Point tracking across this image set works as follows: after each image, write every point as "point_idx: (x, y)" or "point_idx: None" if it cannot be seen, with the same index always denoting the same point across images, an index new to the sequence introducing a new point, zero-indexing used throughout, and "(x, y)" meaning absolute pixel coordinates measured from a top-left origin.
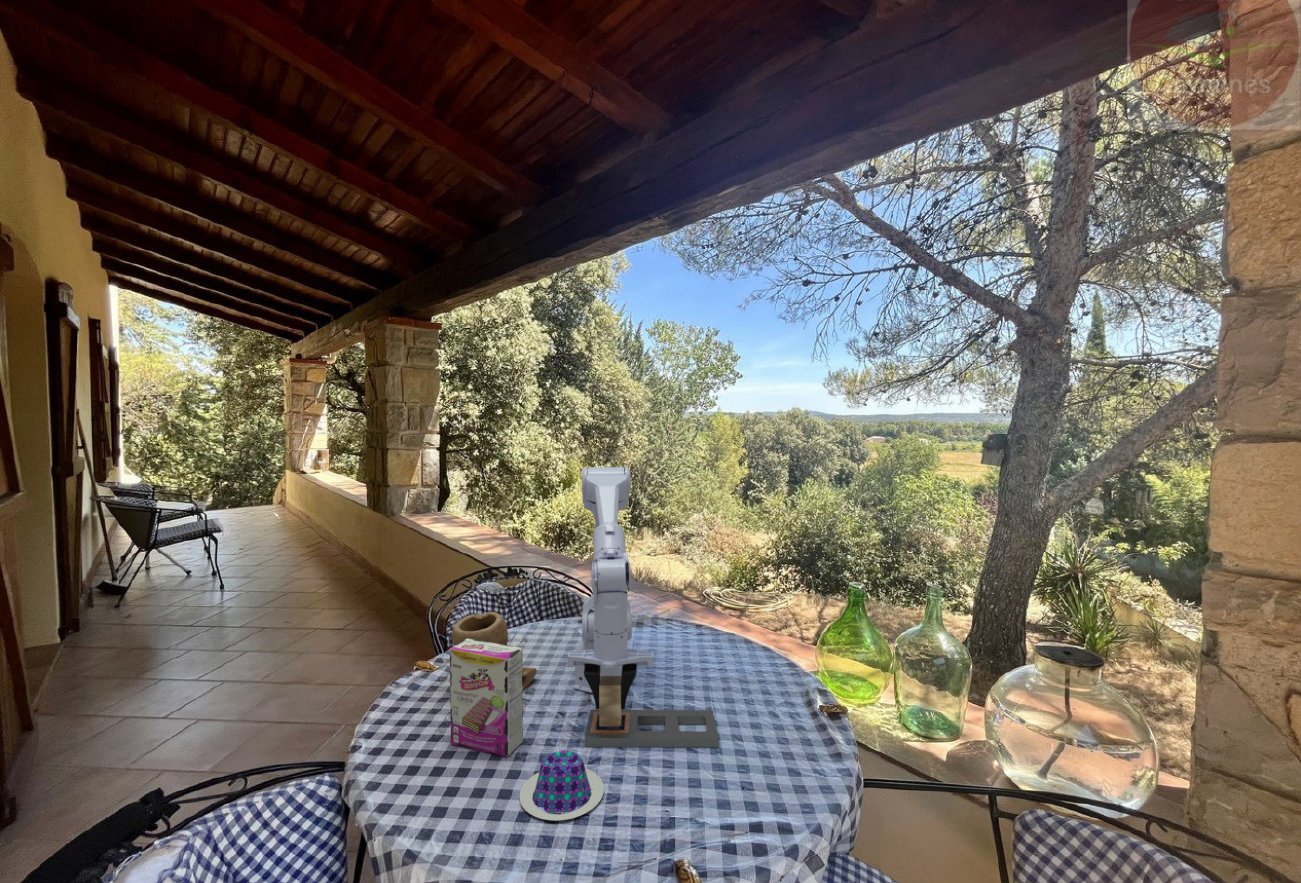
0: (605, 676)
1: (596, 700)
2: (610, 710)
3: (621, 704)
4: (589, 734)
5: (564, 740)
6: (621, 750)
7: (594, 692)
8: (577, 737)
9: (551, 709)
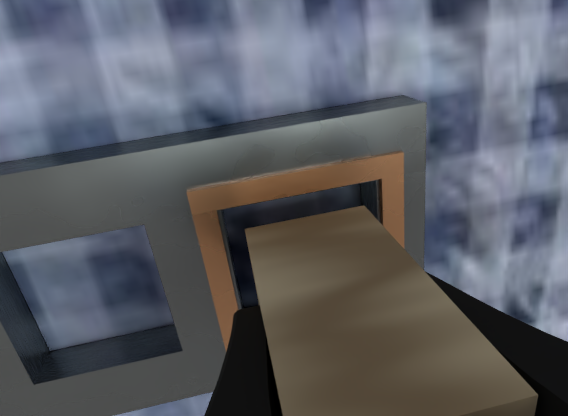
0: None
1: (459, 297)
2: (328, 265)
3: (259, 324)
4: (403, 141)
5: (498, 133)
6: (208, 97)
7: (525, 333)
8: (443, 168)
9: (556, 330)
